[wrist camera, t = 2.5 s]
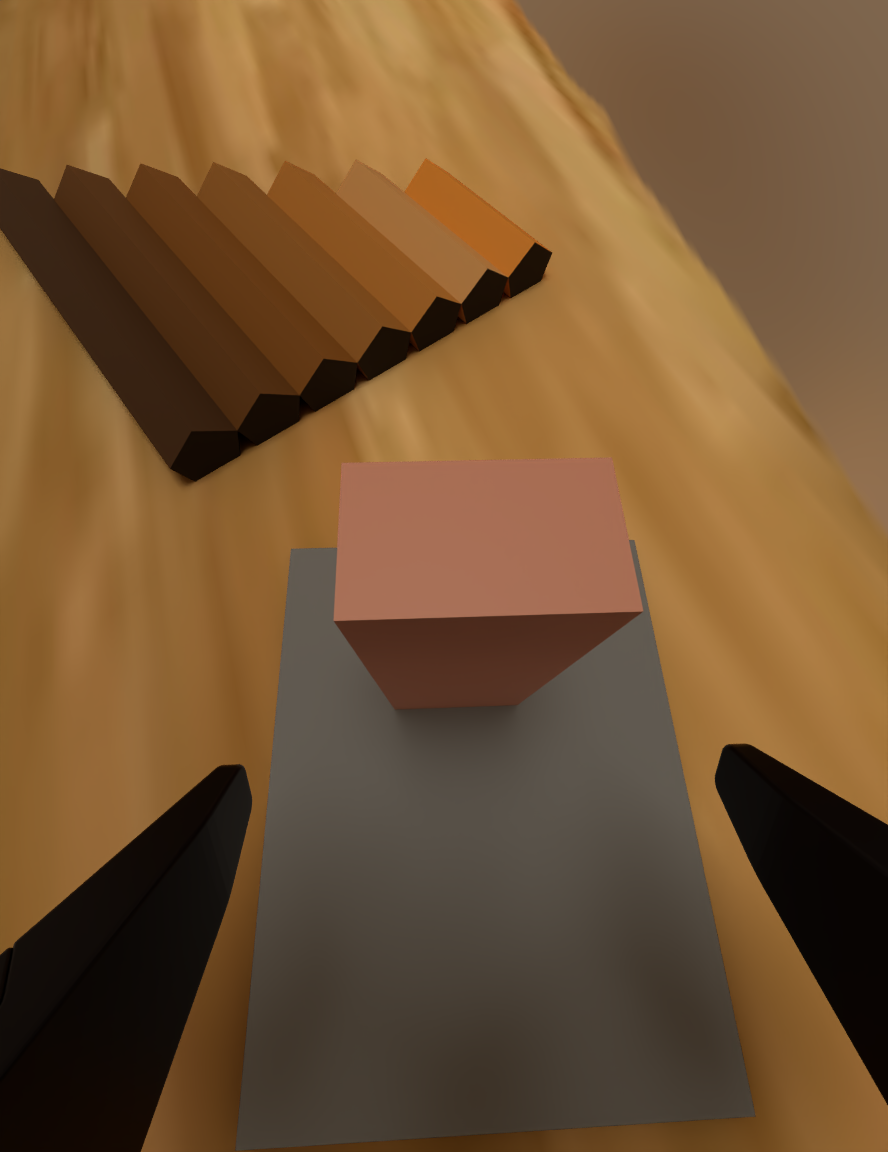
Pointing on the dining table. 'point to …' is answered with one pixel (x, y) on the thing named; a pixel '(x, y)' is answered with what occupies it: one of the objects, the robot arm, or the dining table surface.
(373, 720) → the mat
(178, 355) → the pan flute
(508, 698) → the tall box
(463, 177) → the dining table surface
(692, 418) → the dining table surface
